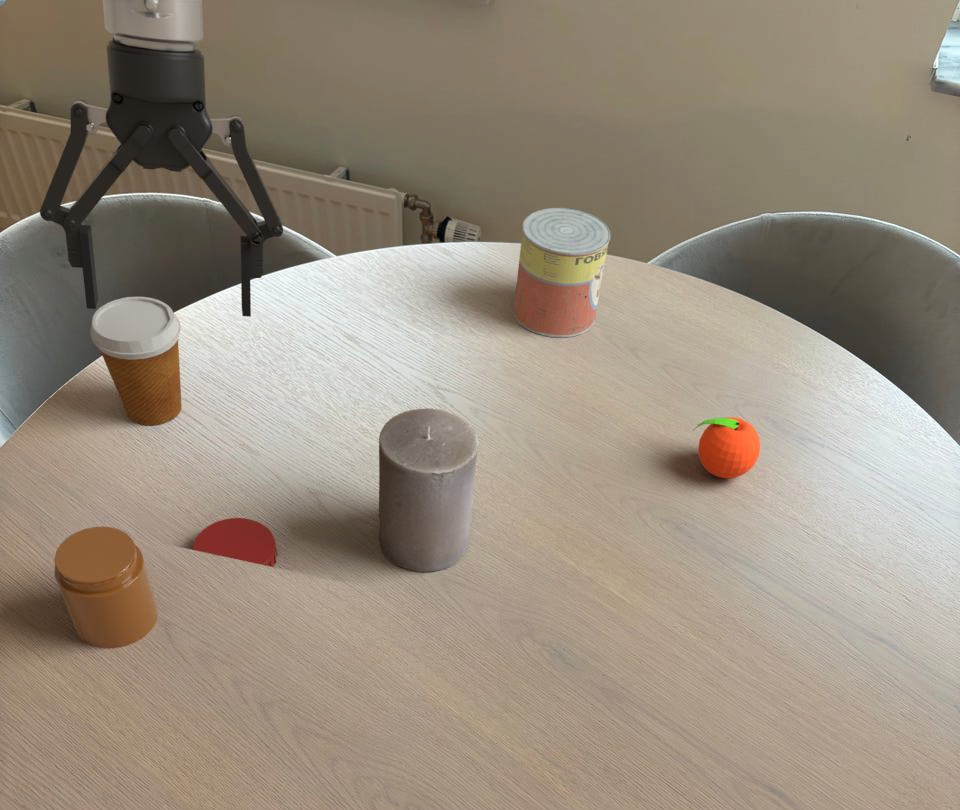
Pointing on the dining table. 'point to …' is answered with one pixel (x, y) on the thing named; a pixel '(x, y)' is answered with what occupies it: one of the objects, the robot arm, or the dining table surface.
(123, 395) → the disposable coffee cup
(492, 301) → the dining table surface
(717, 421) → the clementine
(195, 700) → the dining table surface
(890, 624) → the dining table surface
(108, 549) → the jam jar
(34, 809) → the dining table surface
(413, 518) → the pillar candle
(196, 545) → the lid
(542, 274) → the canned food
